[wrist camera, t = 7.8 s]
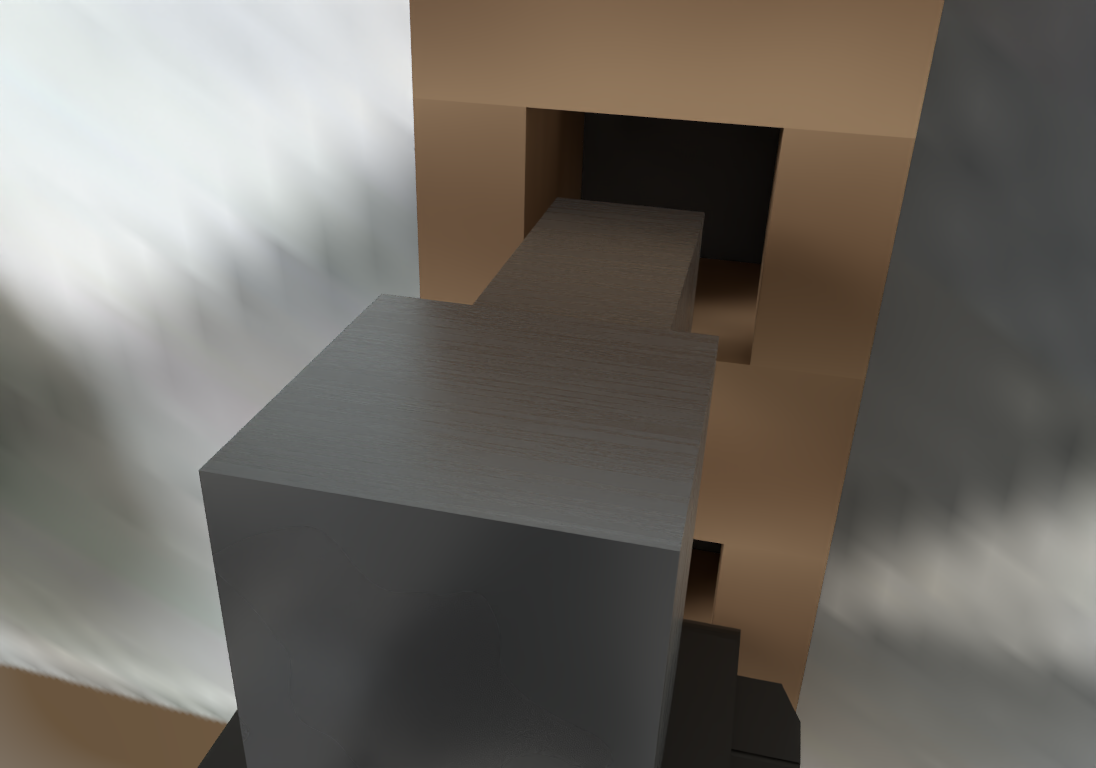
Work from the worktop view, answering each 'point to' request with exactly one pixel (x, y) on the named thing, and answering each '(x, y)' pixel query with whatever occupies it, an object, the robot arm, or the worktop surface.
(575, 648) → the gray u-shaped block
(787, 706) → the robot arm
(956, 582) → the worktop surface
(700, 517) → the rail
